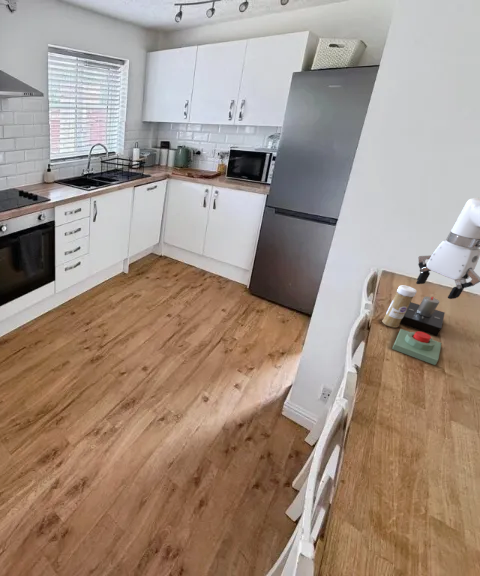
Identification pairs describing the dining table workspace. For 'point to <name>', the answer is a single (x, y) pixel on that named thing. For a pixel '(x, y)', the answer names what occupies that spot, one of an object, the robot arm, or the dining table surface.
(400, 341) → the button box
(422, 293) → the dining table surface
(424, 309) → the dial
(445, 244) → the robot arm
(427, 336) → the button
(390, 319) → the sprinkles bottle
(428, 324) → the panel
